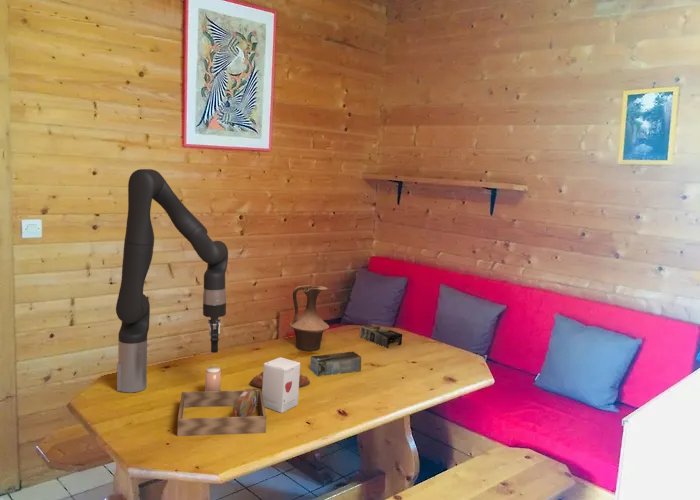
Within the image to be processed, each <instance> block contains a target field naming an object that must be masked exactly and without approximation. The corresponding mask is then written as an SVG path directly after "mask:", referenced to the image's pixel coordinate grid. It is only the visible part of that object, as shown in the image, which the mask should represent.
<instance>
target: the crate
mask: <svg viewBox="0 0 700 500" xmlns="http://www.w3.org/2000/svg"><path fill="white" fill-rule="evenodd" d="M245 390H246V389H245ZM245 390H220V391H205V390H204V391H203V390H202V391H201V390H200V391H181V395H180V401H179V408H178V409H179V410H178V416H177V434H176V435H177V436H176V437H186V436H216V435H219V436H220V435H240V434H241V435H242V434H245V435H246V434H266V433H267V413H266V407H265V406H264V401H263V395H262V389H255V390H256V392H257V406H258V409H259V416H258V415H256V416H255V415H252V416H250V417H233V416H223V417H189V418H188V417H187V418H185V417H184V411H185V409H184V408H209V407H210V408H213V407H214V408H215V407H234V403H235V401H236V399H237V398H238V397H239V396H240V395H241V394H242V393H243V392H244V391H245ZM183 417H184V418H183Z"/></svg>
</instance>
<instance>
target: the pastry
mask: <svg viewBox="0 0 700 500" xmlns="http://www.w3.org/2000/svg"><path fill="white" fill-rule="evenodd" d="M310 383H311V381H310V379H309V378H308V376H307V375H303V374H302V373H300V376H299V388H304V387H306V385H307V386H308V385H309V384H310ZM249 385H250V386H251V387H255V388H258V389H262V387H263V371H262V372H260V373H259V374H258V375H256V376H254V377H253V378H252V379H251V380H250V382H249Z"/></svg>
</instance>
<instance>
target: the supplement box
mask: <svg viewBox="0 0 700 500" xmlns="http://www.w3.org/2000/svg"><path fill="white" fill-rule="evenodd" d="M300 371H301V362H298V361H295V360H291V359H288V358H284V357H281V356H280V357H277V358H274V359H272V360H269V361H266V362H264V363H263V371H262V372H263V387H262V388H261V390H262V395H263V401H264V406H265V409H266V408H267V409H269V410H271V411H275V412H278V413H281V414H282V413H283V414H284V413H285V412H287V411H288V410H292V409H293V408H295V407H296V406H298V405H299V390H300V389H299V388H300V387H299V376H300V374H301V372H300Z"/></svg>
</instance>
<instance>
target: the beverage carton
mask: <svg viewBox="0 0 700 500" xmlns="http://www.w3.org/2000/svg"><path fill="white" fill-rule="evenodd" d="M361 369H362V356H360V355H358V353H356V352H355V351H347V352H346V351H345V352H337V353H329V354H322V355H311V356H310V371H311V372H312V373H313V372H314V373H313V374H314V375H316V376H317V377H323V376H322V375H324V376H331V374H333V375H339V374H338V373H341V374H346V372H348V373H354V372H353V371H356V372H361V371H362V370H361Z"/></svg>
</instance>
